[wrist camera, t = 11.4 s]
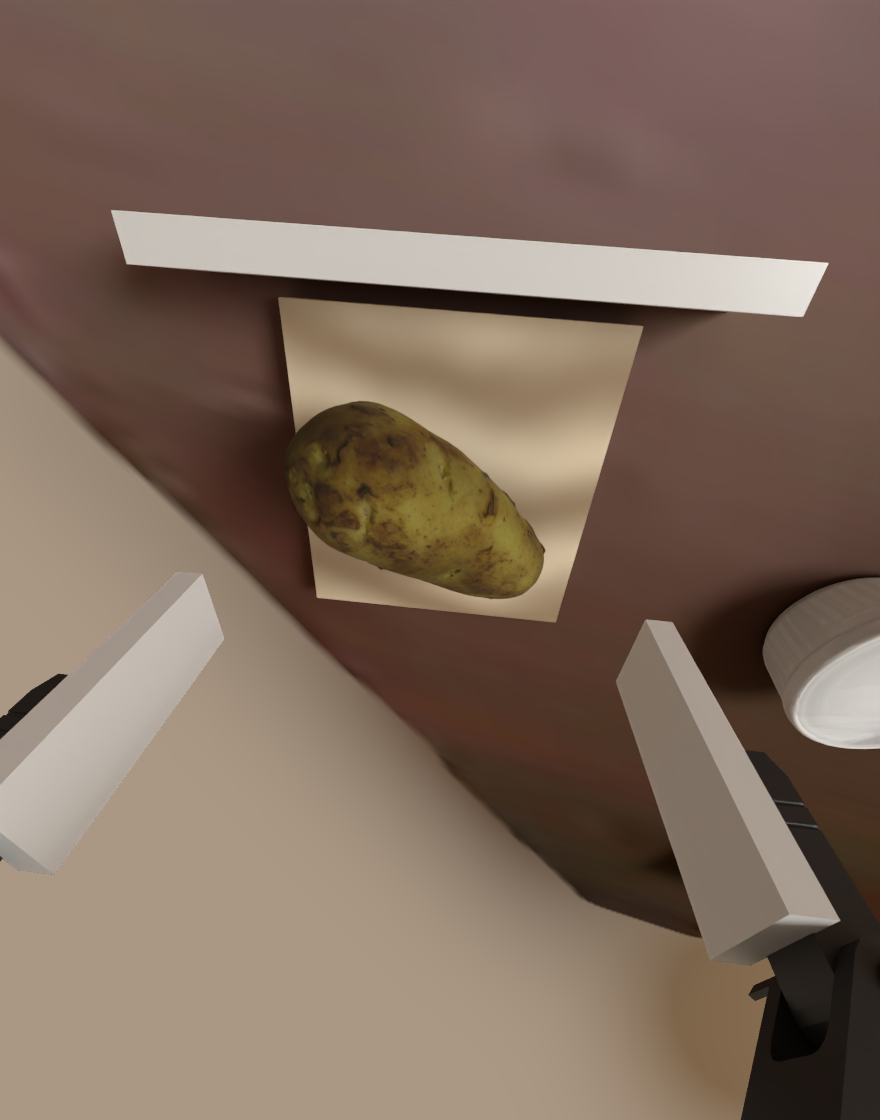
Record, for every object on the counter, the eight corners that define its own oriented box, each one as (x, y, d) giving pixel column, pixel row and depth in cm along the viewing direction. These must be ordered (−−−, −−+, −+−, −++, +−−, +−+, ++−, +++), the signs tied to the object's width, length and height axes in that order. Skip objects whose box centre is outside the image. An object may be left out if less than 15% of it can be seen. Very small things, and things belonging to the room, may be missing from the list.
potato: (430, 598, 26) (413, 700, 20) (302, 422, 21) (218, 481, 14) (551, 548, 24) (579, 647, 17) (441, 329, 18) (419, 348, 11)
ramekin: (771, 704, 32) (818, 770, 27) (719, 613, 27) (766, 674, 23) (954, 646, 27) (1046, 713, 23) (928, 527, 23) (1035, 581, 18)
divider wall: (196, 230, 18) (111, 210, 14) (744, 270, 17) (828, 262, 13) (204, 271, 19) (127, 264, 15) (728, 312, 18) (802, 316, 14)
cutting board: (291, 296, 19) (278, 297, 18) (632, 324, 19) (643, 326, 17) (324, 584, 28) (317, 597, 27) (552, 607, 28) (555, 622, 27)
